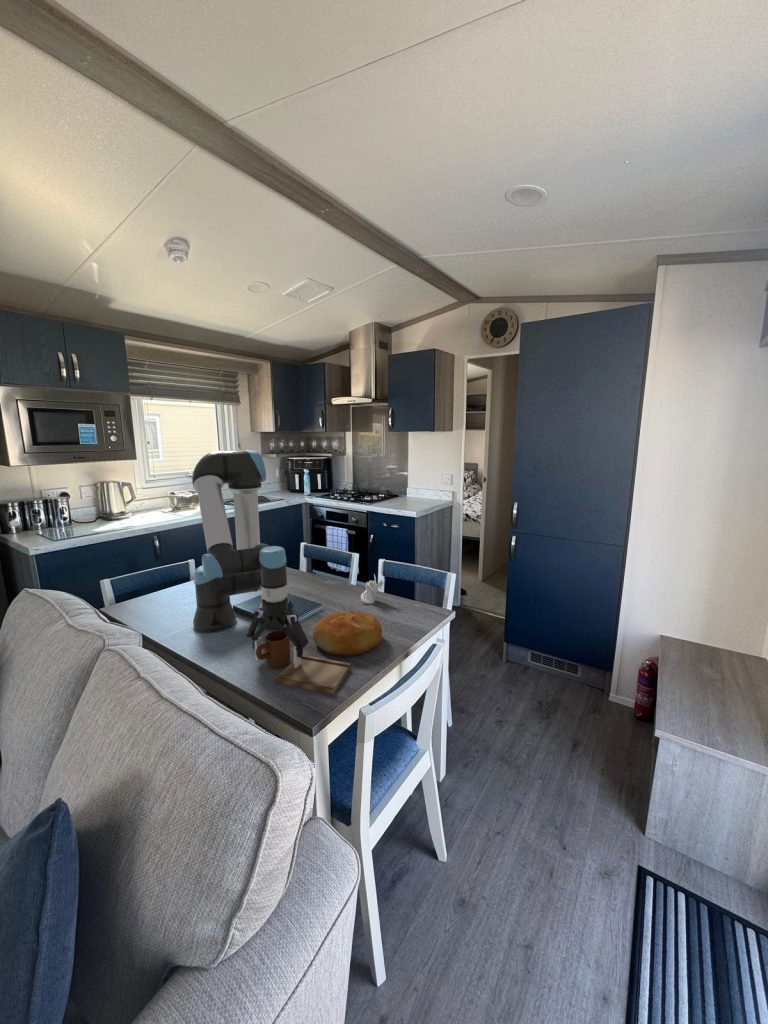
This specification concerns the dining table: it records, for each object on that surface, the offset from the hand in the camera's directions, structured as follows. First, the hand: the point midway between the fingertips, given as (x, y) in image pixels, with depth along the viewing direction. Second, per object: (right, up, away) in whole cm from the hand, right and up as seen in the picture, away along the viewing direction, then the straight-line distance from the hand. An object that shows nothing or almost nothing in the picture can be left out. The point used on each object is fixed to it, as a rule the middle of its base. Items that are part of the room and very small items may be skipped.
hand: (278, 662), depth 133 cm
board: (+12, -3, -4) cm, 13 cm away
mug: (-2, -2, +1) cm, 3 cm away
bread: (+21, +1, +16) cm, 26 cm away
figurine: (+28, +8, +49) cm, 57 cm away
